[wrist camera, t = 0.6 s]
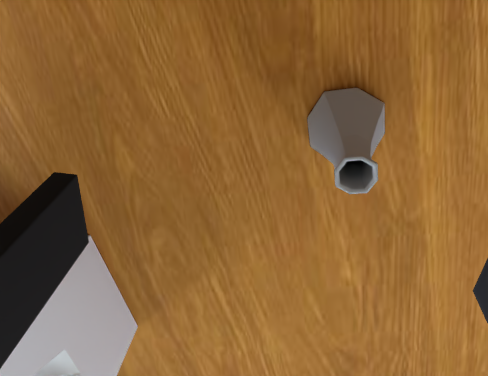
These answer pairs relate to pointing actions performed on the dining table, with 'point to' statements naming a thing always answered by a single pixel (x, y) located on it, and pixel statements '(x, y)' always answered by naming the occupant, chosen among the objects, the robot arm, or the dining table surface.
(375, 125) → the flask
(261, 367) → the dining table surface
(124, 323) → the white pentagonal block
